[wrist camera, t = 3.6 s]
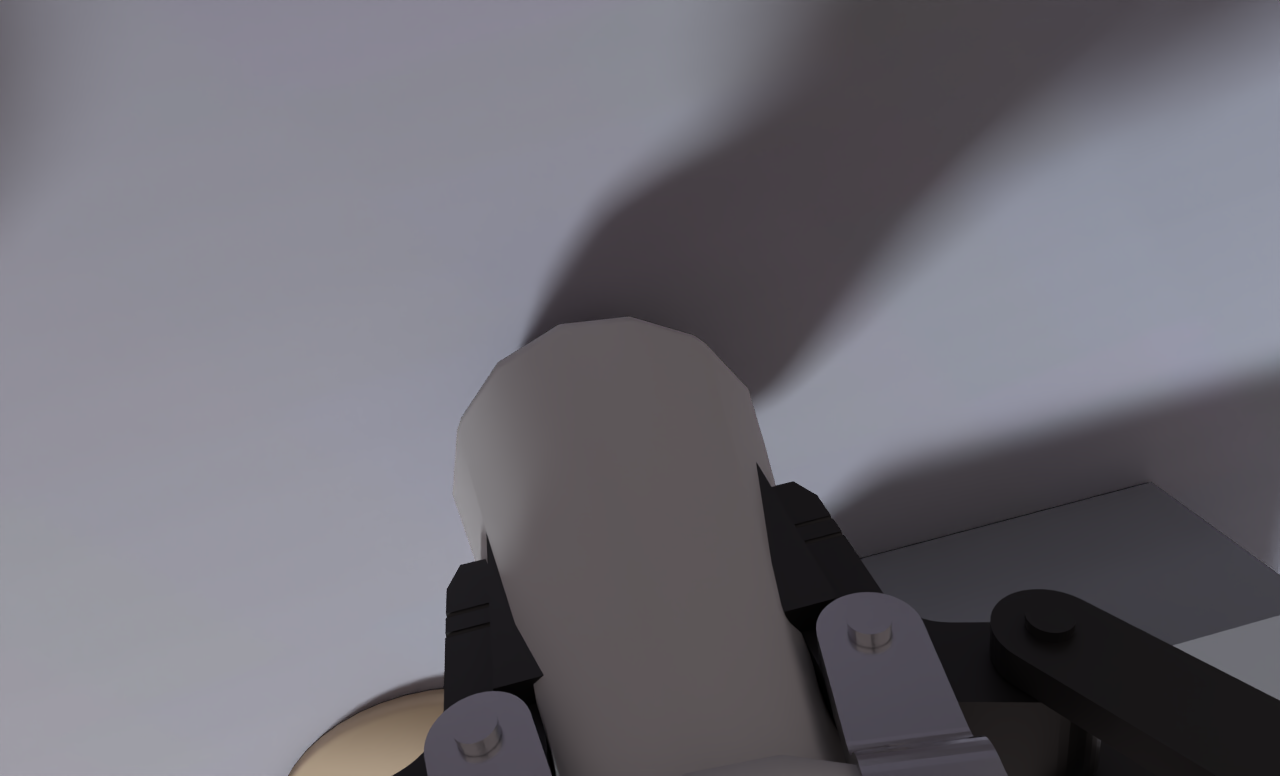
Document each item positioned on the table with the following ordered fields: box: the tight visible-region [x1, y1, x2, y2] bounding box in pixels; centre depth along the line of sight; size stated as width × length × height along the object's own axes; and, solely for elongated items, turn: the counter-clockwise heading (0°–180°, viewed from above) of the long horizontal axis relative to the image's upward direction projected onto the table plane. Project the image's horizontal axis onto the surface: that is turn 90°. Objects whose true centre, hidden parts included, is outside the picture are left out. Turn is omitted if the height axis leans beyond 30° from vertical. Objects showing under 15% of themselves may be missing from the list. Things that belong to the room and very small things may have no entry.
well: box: [861, 482, 1280, 700], centre depth 23 cm, size 12×12×5 cm
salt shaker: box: [453, 316, 860, 776], centre depth 12 cm, size 6×6×13 cm
